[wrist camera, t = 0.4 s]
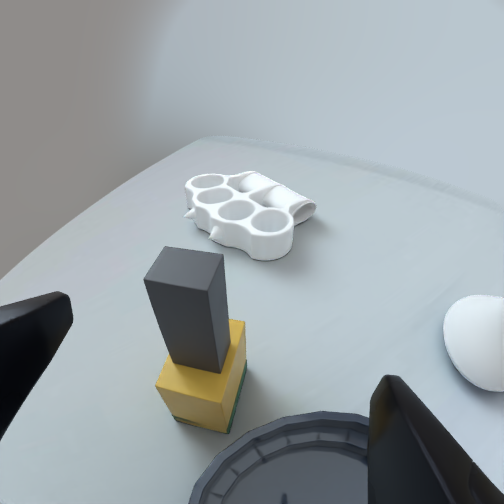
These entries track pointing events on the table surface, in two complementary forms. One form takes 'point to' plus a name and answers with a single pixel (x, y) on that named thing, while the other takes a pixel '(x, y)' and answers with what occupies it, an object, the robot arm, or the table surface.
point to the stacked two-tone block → (197, 338)
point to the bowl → (292, 463)
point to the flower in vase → (477, 340)
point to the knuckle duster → (247, 212)
